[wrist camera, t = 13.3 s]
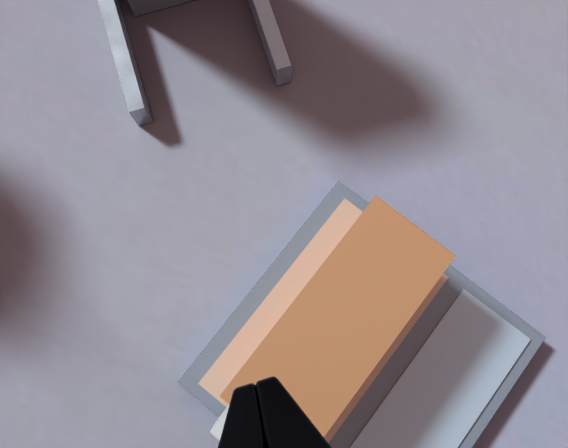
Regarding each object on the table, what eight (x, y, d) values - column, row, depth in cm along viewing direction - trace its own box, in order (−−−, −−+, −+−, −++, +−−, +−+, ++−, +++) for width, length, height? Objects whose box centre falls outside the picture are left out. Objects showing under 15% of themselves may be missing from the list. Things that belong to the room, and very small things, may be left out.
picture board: (536, 336, 22) (547, 337, 21) (388, 555, 20) (393, 565, 19) (336, 185, 23) (338, 179, 22) (181, 380, 22) (177, 382, 21)
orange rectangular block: (427, 266, 22) (455, 255, 18) (279, 466, 20) (280, 497, 17) (360, 215, 22) (375, 195, 19) (210, 407, 21) (196, 425, 17)
